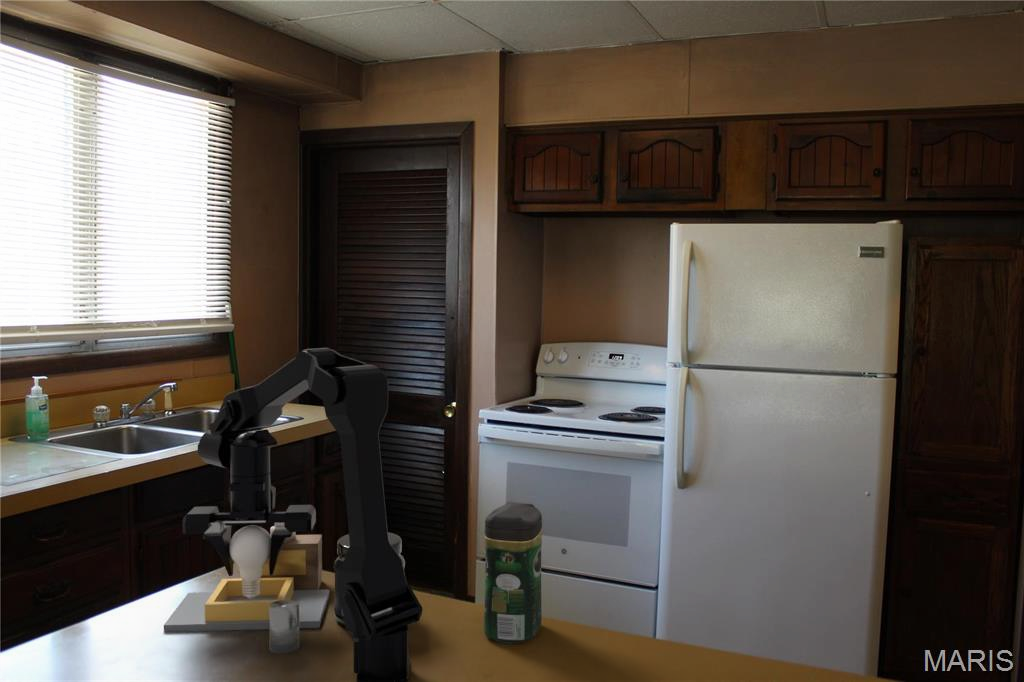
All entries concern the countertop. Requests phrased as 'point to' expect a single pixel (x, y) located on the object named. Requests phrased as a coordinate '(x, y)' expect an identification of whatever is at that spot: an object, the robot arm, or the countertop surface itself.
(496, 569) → the coffee jar
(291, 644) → the silver metal cylinder
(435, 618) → the countertop surface
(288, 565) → the lamp unit
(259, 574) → the lightbulb
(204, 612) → the board
